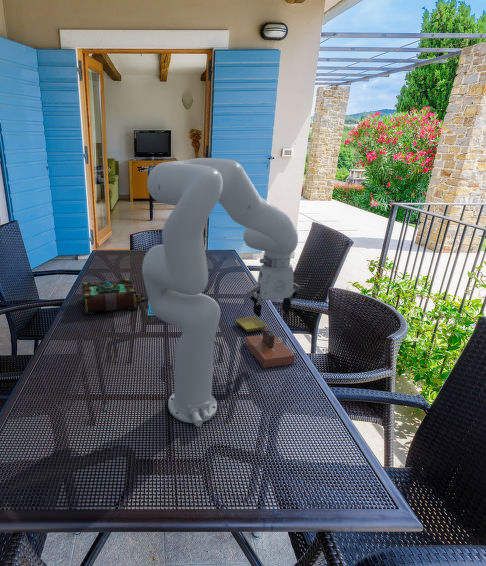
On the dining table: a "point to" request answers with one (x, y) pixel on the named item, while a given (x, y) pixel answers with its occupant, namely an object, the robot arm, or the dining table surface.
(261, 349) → the panel
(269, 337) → the black block red end
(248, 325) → the yellow square tray
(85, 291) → the book
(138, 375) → the dining table surface
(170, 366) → the dining table surface
